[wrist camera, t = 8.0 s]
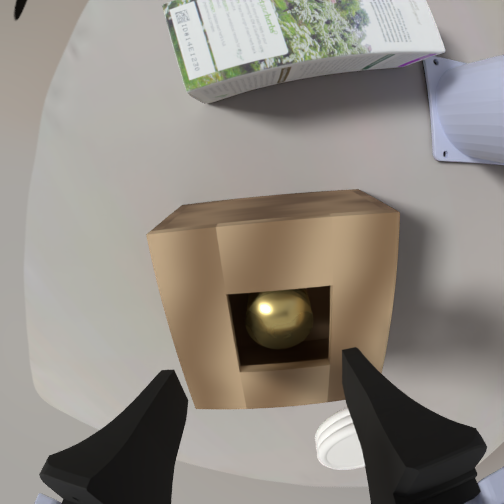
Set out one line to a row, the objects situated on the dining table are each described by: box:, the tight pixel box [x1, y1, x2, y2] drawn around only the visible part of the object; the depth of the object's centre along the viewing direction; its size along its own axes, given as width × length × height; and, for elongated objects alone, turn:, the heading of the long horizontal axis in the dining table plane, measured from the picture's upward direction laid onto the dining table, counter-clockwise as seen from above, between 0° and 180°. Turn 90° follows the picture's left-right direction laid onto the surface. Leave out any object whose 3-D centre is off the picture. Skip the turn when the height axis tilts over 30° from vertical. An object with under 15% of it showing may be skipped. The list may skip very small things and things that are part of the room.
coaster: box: [315, 408, 365, 470], centre depth 27 cm, size 10×10×4 cm
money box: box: [147, 189, 400, 409], centre depth 19 cm, size 12×12×7 cm
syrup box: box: [162, 0, 445, 104], centre depth 13 cm, size 6×6×14 cm
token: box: [245, 288, 313, 349], centre depth 19 cm, size 4×4×5 cm
